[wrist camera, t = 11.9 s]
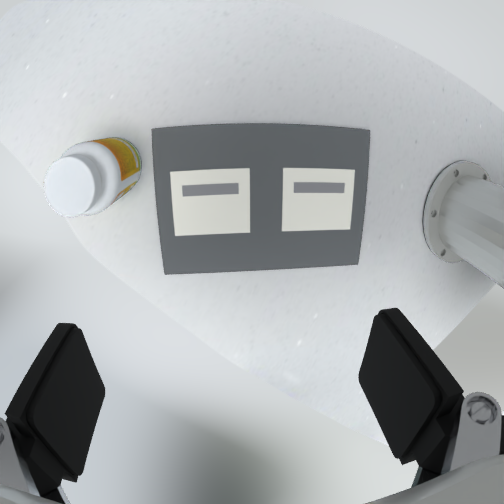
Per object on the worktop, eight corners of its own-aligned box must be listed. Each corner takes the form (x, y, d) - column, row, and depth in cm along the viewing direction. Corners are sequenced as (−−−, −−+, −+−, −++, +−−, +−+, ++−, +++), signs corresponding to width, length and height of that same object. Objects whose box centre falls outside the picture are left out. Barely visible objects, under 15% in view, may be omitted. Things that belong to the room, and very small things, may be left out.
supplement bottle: (98, 130, 23) (43, 136, 14) (150, 146, 25) (114, 156, 16) (83, 185, 25) (29, 215, 16) (133, 202, 26) (95, 239, 18)
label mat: (369, 130, 26) (370, 130, 26) (357, 263, 31) (358, 265, 31) (151, 128, 24) (151, 128, 24) (164, 273, 30) (164, 275, 29)
